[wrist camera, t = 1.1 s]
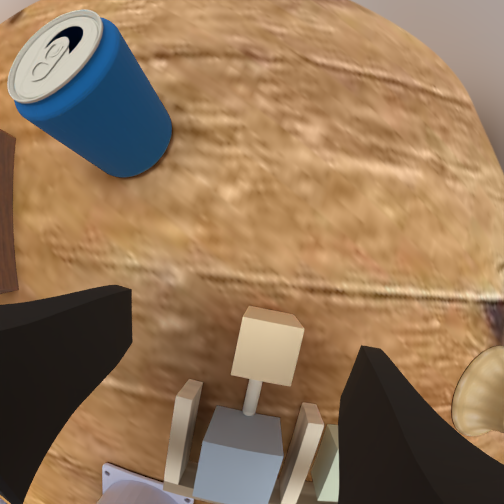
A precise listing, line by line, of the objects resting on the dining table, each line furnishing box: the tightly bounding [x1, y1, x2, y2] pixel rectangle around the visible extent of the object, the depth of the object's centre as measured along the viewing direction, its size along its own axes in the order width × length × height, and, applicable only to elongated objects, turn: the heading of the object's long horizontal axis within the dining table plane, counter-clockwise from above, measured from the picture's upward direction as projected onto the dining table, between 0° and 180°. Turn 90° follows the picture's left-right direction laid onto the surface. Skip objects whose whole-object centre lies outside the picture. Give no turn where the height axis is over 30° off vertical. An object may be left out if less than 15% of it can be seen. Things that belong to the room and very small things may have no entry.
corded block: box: [192, 306, 304, 504], centre depth 18 cm, size 12×4×6 cm, turn 168°
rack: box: [163, 379, 338, 504], centre depth 19 cm, size 8×17×4 cm, turn 78°
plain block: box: [311, 424, 339, 502], centre depth 18 cm, size 4×4×4 cm
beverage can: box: [7, 10, 172, 177], centre depth 17 cm, size 6×6×12 cm
